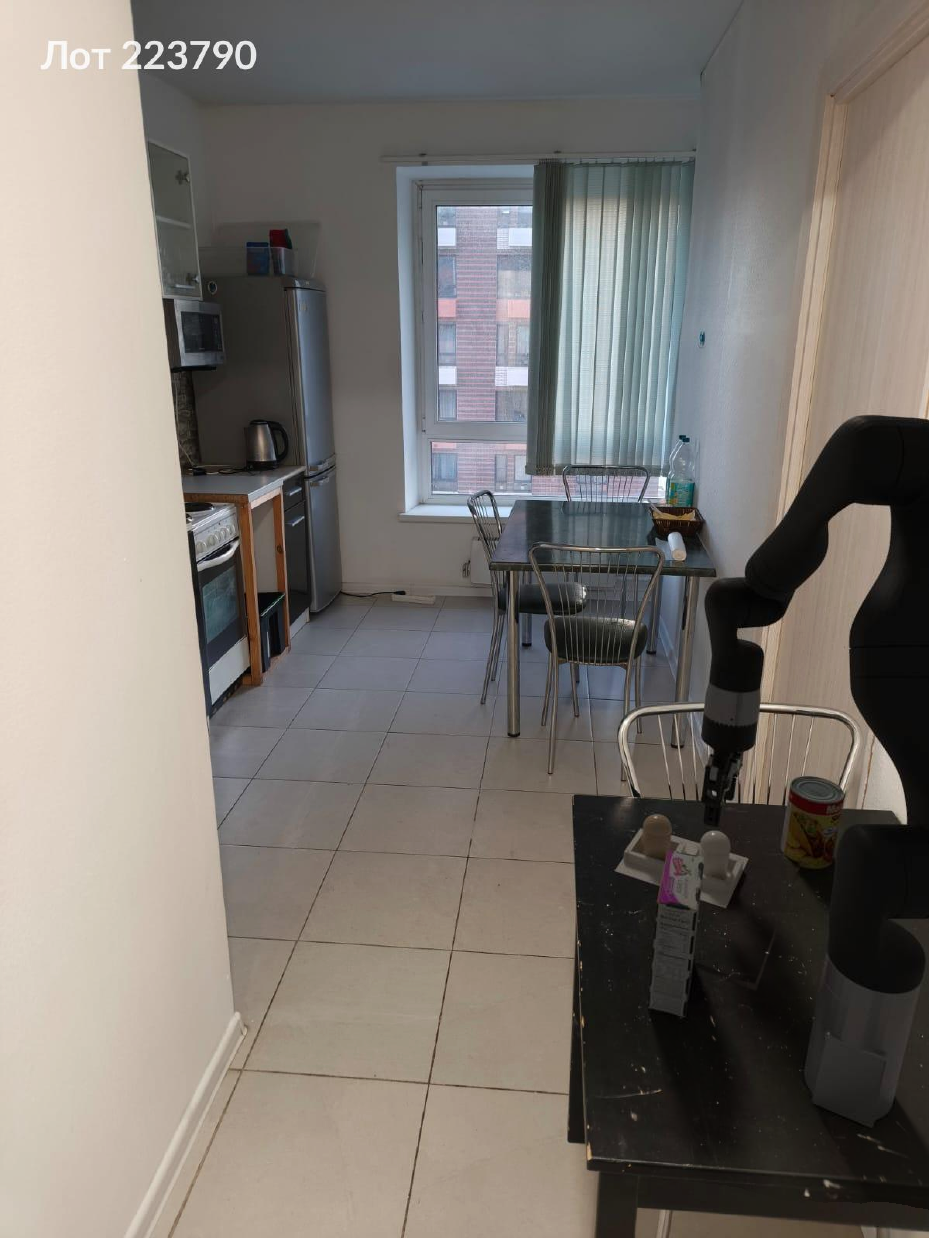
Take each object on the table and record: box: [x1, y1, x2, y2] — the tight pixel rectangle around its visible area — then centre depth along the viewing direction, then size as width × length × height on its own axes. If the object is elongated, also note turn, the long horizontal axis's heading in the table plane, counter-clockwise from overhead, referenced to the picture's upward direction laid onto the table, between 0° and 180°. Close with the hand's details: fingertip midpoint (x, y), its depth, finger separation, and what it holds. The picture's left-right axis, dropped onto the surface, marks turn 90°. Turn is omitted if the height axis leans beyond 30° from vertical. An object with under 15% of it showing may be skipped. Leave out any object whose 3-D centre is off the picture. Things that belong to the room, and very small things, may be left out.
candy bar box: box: [647, 850, 704, 1019], centre depth 108 cm, size 11×5×16 cm, turn 161°
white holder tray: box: [614, 827, 749, 909], centre depth 134 cm, size 14×17×2 cm
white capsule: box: [699, 830, 731, 880], centre depth 131 cm, size 4×4×7 cm
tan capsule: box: [641, 813, 673, 862], centre depth 135 cm, size 4×4×7 cm
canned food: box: [780, 775, 845, 870], centre depth 136 cm, size 8×8×12 cm
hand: (718, 811), depth 128 cm, fingers open, 8 cm apart
